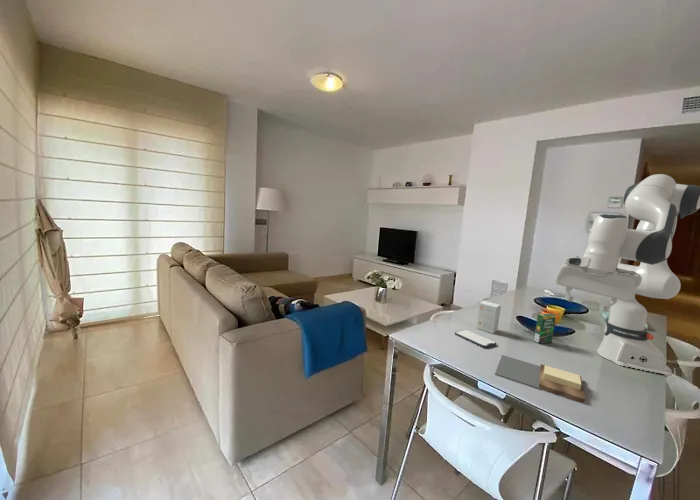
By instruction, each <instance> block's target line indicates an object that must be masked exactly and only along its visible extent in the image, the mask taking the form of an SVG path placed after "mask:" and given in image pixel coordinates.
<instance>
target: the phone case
mask: <svg viewBox="0 0 700 500" xmlns="http://www.w3.org/2000/svg"><path fill="white" fill-rule="evenodd" d="M454 335H455V336H457V337H459V338H461V339H464V340H465V341H467V342H469V341H470V342H469V343H471V342H472V344H473V343H474V344H473V345H475V344H476V345H475V346H477V347H479V346H480V348H481V347H482V349H485V350H486V349H491V348H494V347H496V346H497V342H496V341H494V340H492V339H489V338H487V337H484V336H482V335H480V334H477V333H475V332H472V331H470V330H468V329H462V330H459V331H455V332H454Z"/></svg>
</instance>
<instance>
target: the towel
mask: <svg viewBox="0 0 700 500" xmlns="http://www.w3.org/2000/svg"><path fill="white" fill-rule="evenodd" d="M603 309H604V307H603V308H600V310H601V312H600V315H601V317H602V318H603V320H604V321H605V322H607V321H608V320H609V314H610V311H609V312H606V311H603ZM644 329H647V330H648V329H649V325H648V324H647V321H646V322H645V327H644Z"/></svg>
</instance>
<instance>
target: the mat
mask: <svg viewBox="0 0 700 500" xmlns="http://www.w3.org/2000/svg"><path fill="white" fill-rule="evenodd" d="M500 356H501V357H500V360H499V362H498V365H497V368H496V370H495V372H494V375H495V376H498V377H500V378H504V379H507V380H510V381H513V382H515V383H518V384H519V383H520V384H521V385H525V386H527V387H531V388H533V389H537V390H539V391H540V390H541V391H543V390H542V388H539V379H540V367H541V365H537V364H534V363H531V362H528V361H524V360H520V359H517V358H514V357H511V356H507V355H504V354H502V355H500Z"/></svg>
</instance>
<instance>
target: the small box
mask: <svg viewBox="0 0 700 500" xmlns="http://www.w3.org/2000/svg"><path fill="white" fill-rule="evenodd" d="M501 307H502V305H501V304H498V303H494V302H491V301H486V300H482V301H480V302H479V305H478V313H477V321H476V326H475V327H476V328H475V329H477V330H479V331H483V332H487V333H490V334H495V333H496V332H497V331H498V329H499V323H500V314H501V310H502V309H501Z"/></svg>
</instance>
